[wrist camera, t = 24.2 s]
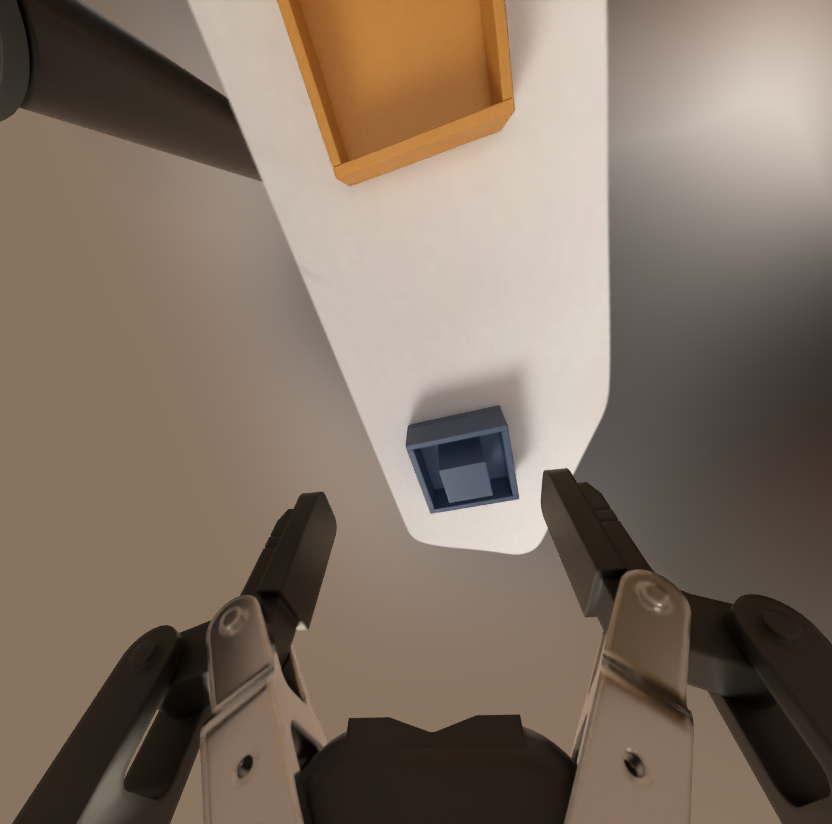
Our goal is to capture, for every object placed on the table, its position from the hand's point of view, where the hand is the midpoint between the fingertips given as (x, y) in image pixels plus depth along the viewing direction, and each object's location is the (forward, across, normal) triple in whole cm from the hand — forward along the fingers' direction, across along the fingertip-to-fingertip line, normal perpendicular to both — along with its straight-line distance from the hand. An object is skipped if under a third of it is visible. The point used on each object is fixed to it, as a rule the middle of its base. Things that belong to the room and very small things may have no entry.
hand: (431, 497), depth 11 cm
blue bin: (+18, -2, +13) cm, 23 cm away
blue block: (+18, -2, +13) cm, 22 cm away
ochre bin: (+19, -1, -18) cm, 26 cm away
